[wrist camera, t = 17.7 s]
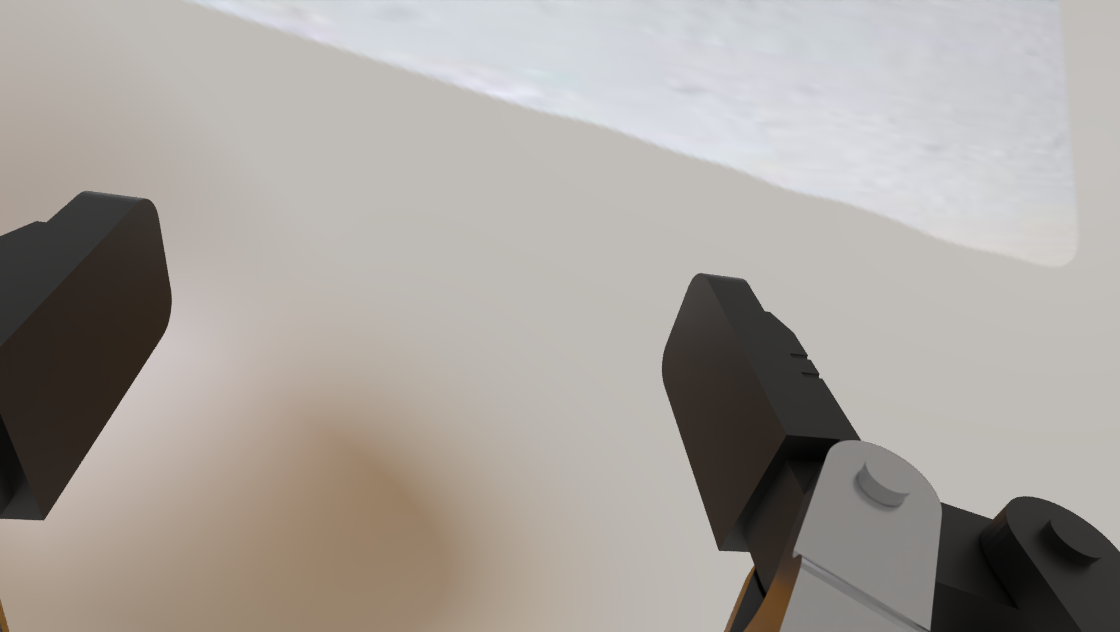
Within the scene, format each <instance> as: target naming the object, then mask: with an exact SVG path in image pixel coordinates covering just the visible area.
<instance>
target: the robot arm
mask: <svg viewBox="0 0 1120 632" xmlns="http://www.w3.org/2000/svg"><path fill="white" fill-rule="evenodd" d="M171 297H172V296H171V287H170V282H169V276H168V270H167V264H166V258H165V252H164V246H163V240H162V234H161V229H160V223H159V217H158V213H157V210H156V208H155V206H154V204H153V203H152V202H151V201H150V200H148V199H144V198H137V197H129V196H122V195H114V194H107V193H99V192H92V191H84V192H82V193H80V194H78V195H77V196H76V197H75V198H74V199H73V200H71V201H70V202H69V203H68V204H67V205H66V206H65V207H63V208H62V209H61V210H60V211H59V212H58V213H57V214H55V215H54V216H53V217H52V218H51V219H50V220H49V221H47V222H39V221H36V222H33V223H31V224H29V225H26V226H24V227H21V228H19V229H17V230H14V231H12V232H9V233H7V234H5V235H2V236H0V519H24V520H44V519H45V518H46V516H47V515H48V513H49V512H50V510H51V509H52V507H53V505H54V504H55V502H56V501H57V499H58V498H59V496H60V495H61V493H62V492H63V490H64V488H65V487H66V485H67V484H68V482H69V481H70V479H71V478H72V476H73V474H74V473H75V471H76V470H77V468H78V467H79V465H80V464H81V461H83V459H84V457H85V456H86V454H87V453H88V451H89V450H90V448H91V447H92V445H93V443H94V442H95V440H96V439H97V437H98V436H99V434H100V432H101V431H102V430H103V428H104V426H105V425H106V423H107V422H108V420H109V419H110V417H111V415H112V414H113V412H114V411H115V409H116V408H117V406H118V405H119V403H120V401H121V400H122V398H123V397H124V395H125V394H126V392H127V391H128V389H129V388H130V386H131V384H132V383H133V381H134V380H135V378H136V377H137V375H138V374H139V372H140V371H141V369H142V367H143V366H144V364H145V363H146V361H147V359H148V358H149V357H150V355H151V353H152V352H153V350H154V349H155V347H156V346H157V344H158V342H159V341H160V340H161V338H162V336H163V334H164V333H165V331H166V328H167V326H168V322H169V318H170V313H171V305H172V298H171ZM807 356H808V355H807V353H806V352H805V350H804V349H803V347H802V345H801V344H800V342H799V341H798V339H797V337H796V336H795V334H794V333H793V332H792V331H791V330H790V329H789V328H788V327H786V326H785V325H784V324H783V323H782V322H781V321H780V320H778V319H777V318H776V317H775V316H774V315H773V314H771V313H770V312H765V311H764V310H763V308H762V306H761V304H760V303H759V301H758V299H757V298H756V296H755V294H754V293H753V291H752V289H751V288H750V286H749V284H748V283H747V282H746V281H745V280H744V279H740V278H733V277H726V276H718V275H711V274H703V273H700V274H697V275H696V276H695V277H694V278H693V279H692V281H691V283H690V285H689V287H688V290H687V292H686V295H685V297H684V300H683V303H682V305H681V307H680V310H679V313H678V315H677V318H676V320H675V323H674V326H673V328H672V331H671V333H670V336H669V339H668V341H667V344H666V347H665V350H664V354H663V361H662V376H663V383H664V386H665V389H666V392H667V395H668V398H669V401H670V404H671V407H672V410H673V413H674V416H675V419H676V422H677V425H678V428H679V431H680V435H681V438H682V440H683V444H684V446H685V450H686V453H687V455H688V458H689V462H690V465H691V468H692V471H693V474H694V477H695V479H696V483H697V486H698V489H699V492H700V495H701V498H702V501H703V504H704V507H705V510H706V513H707V516H708V519H709V522H710V525H711V528H712V531H713V534H714V537H715V540H716V543H717V547H718V549H719V551H740V552H750V554H751V557H752V559H753V562H754V566H753V568H752V569H751V571H750V572H749V574H748V576H747V578H746V580H745V582H744V584H743V587H742V589H741V591H740V594H739V596H738V599H737V601H736V603H735V606H734V608H733V611H732V613H731V616H730V618H729V620H728V623H727V625H726V628H725V630H724V632H1120V552H1119V551H1118V550H1117V548H1116V547H1115V546H1114V545H1113V544H1112V543H1111V542H1110V541H1109V540H1108V539H1107V538H1106V537H1105V536H1104V535H1103V534H1102V533H1101V532H1099V531H1098V530H1097V529H1096V528H1095V527H1093V526H1092V525H1091V524H1089V523H1088V522H1086V521H1085V520H1084V519H1082V518H1081V517H1079V516H1078V515H1076V514H1074V513H1073V512H1071V511H1069V510H1067V509H1065V508H1063V507H1061V506H1059V505H1057V504H1055V503H1052V502H1050V501H1047V500H1043V499H1040V498H1035V497H1026V496H1025V497H1024V496H1023V497H1017V498H1015V499H1013V500H1011V501H1010V502H1009V503H1008V504H1007V505H1006V507H1004V508H1003V509H1002V511H1001V512H1000V513H999V514H998V515H997V516H996V517H995V518H994V519H990V518H987V517H984V516H981V515H978V514H974V513H972V512H968V511H966V510H963V509H960V508H957V507H953V506H950V505H947V504H944V503H941V502H940V500H939V498H938V496H937V494H936V492H935V490H934V489H933V487H932V485H931V484H930V483H929V482H928V480H927V479H926V478H925V477H924V476H923V475H922V474H921V473H920V472H919V471H918V470H917V469H916V468H915V467H914V466H912V465H911V464H910V463H909V462H907V461H906V460H904V459H903V458H901V457H900V456H898V455H897V454H895V453H893V452H891V451H889V450H887V449H885V448H883V447H881V446H877V445H875V444H872V443H868V442H864V441H861V440H860V438H859V436H858V435H857V433H856V431H855V430H854V428H853V427H852V425H851V423H850V422H849V420H848V419H847V417H846V416H845V414H844V412H843V411H842V409H841V408H840V406H839V404H838V403H837V401H836V400H835V398H834V396H833V395H832V393H831V392H830V390H829V388H828V387H827V386H826V384H825V382H824V381H823V379H820V378H819V372H818V371H817V369H816V368H815V366H814V365H813V363H812V361H811V360H807ZM0 632H9V628H8V625H7V621H6V618H5V614H4V611H3V607H2V604H1V600H0Z"/></svg>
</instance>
